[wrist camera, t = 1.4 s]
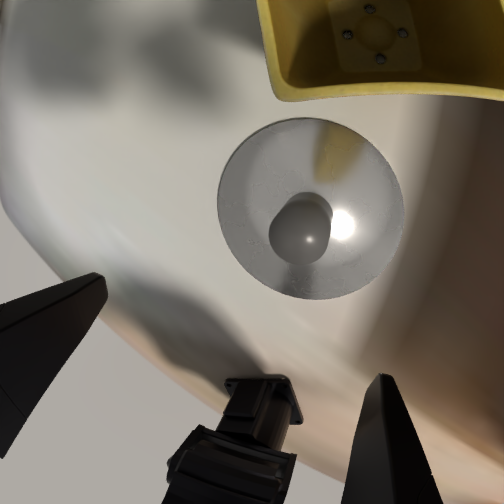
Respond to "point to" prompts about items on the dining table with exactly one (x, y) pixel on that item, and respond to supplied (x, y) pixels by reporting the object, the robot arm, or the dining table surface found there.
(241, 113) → the dining table surface
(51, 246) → the dining table surface
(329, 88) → the flower pot
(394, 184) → the lid
